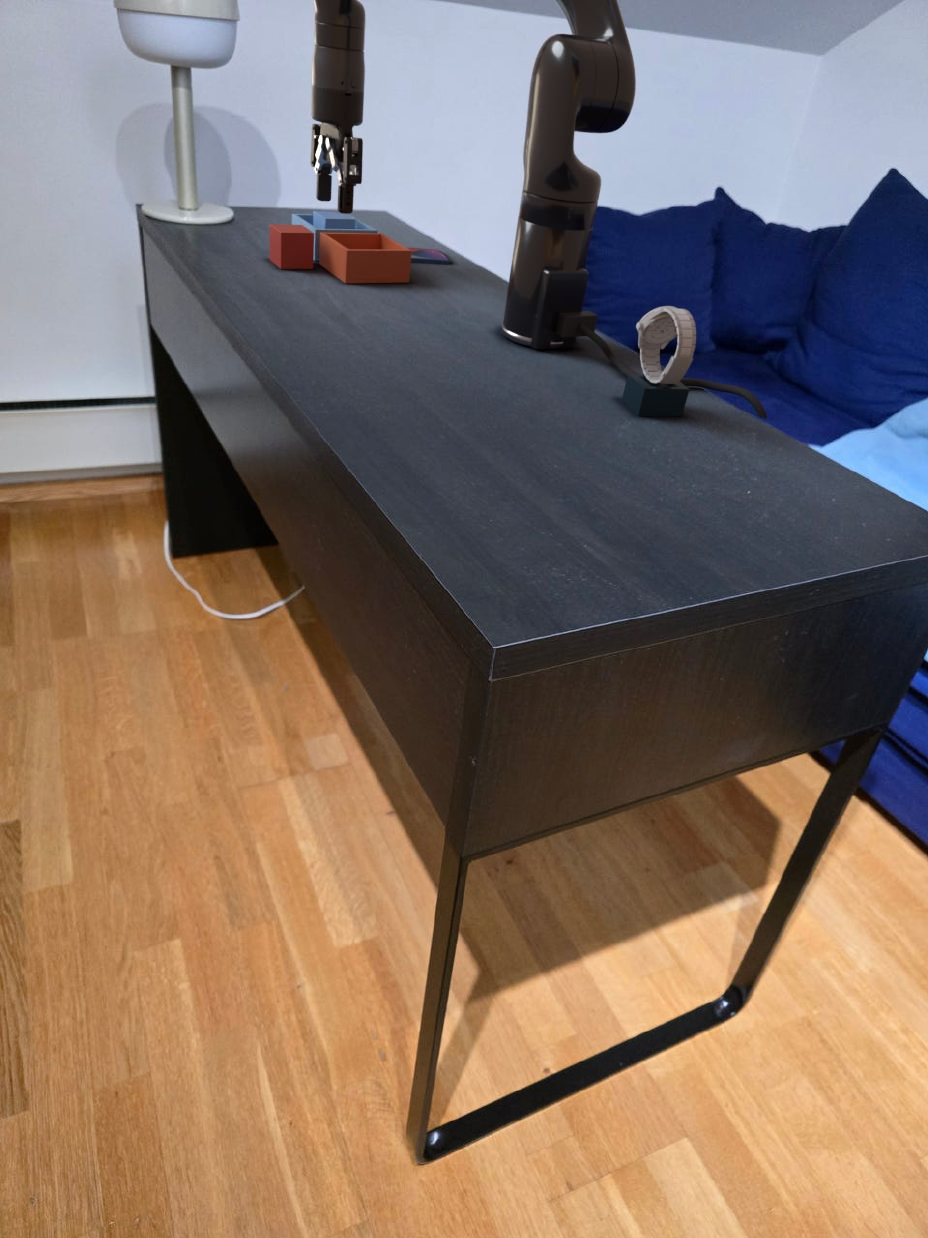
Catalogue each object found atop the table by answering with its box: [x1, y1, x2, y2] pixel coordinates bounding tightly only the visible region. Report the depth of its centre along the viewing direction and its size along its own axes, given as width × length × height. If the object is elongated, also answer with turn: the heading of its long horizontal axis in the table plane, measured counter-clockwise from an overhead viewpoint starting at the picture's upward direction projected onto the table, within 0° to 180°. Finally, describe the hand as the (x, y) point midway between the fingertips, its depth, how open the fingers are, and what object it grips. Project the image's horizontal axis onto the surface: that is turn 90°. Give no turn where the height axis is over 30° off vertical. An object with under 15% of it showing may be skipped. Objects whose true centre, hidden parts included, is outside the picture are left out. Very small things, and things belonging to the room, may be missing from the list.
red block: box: [269, 223, 314, 270], centre depth 129 cm, size 5×5×5 cm
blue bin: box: [291, 213, 378, 262], centre depth 139 cm, size 10×10×4 cm
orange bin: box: [318, 232, 412, 284], centre depth 130 cm, size 10×10×4 cm
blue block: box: [312, 210, 355, 229], centre depth 138 cm, size 5×5×5 cm
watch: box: [621, 305, 697, 417], centre depth 96 cm, size 6×8×11 cm
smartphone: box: [405, 246, 451, 265], centre depth 144 cm, size 7×15×1 cm, turn 108°
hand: (334, 206), depth 136 cm, fingers open, 8 cm apart
